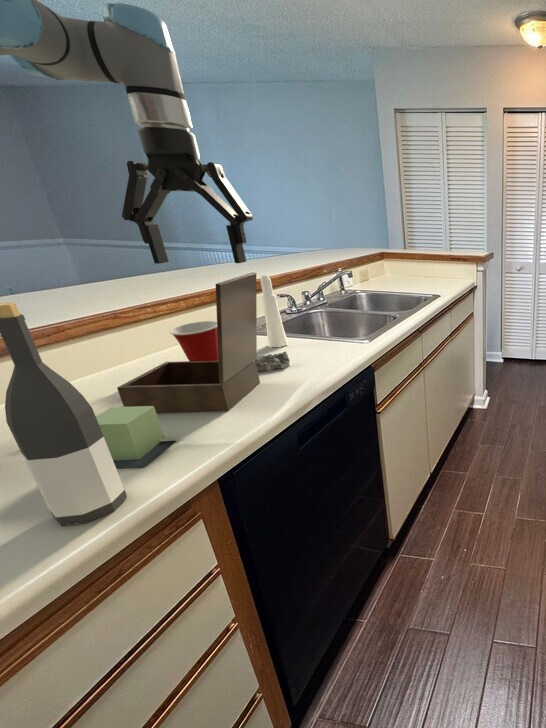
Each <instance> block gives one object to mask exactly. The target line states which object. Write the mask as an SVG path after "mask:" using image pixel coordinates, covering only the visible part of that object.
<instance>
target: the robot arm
mask: <svg viewBox="0 0 546 728" xmlns="http://www.w3.org/2000/svg"><path fill="white" fill-rule="evenodd" d="M102 12H103V21H101V20H86V19H79V18H72V17H66V16H62V15H60V14H59V13H58V12H55V10H53V9H51V8H50V7H48V6H47V5H45V4H43V3H42V2H41V1H39V0H0V56H9V57H10V58H11V59H12V60H13V62H15V63H16V64H17V65H18V66H19V67H20V69H22V70H23V71H24V72H26V74H30V75H31V76H35V77H42V78H49V79H54V80H56V81H64V80H67V81H69V80H70V81H83V82H96V83H111V84H119V85H120V84H122V85H124V87H125V93H126V95H127V99H128V102H129V105H130V110H131V113H132V116H133V120H134V123H135V124H137V125H138V126H141V127H139V128H138V129H137V133H138V137H139V140H140V143H141V147H142V150H143V152H144V154H145V156H146V158H147V162H146V163H144V162H141V161H135V160H127V162H126V167H127V171H128V180H127V185H126V189H125V196H124V201H123V207H122V211H121V212H122V213H121V217H122V219H123V220H124V221H130V222H133V223H135V224H136V225H137V227H138V229H139V232H140V235H141V239H142V242H143V243H144V244H147V245H148V246H149V249H150V253H151V257H152V259H153V263H154V264H157V265H159V264H165V263H169V262H170V261H169V258H168V254H167V251H166V247H165V243H164V241H163V238H162V233H161V231H160V227H159V224H157V223H155V222H154V219H155V217H156V216H157V214H158V212H159V210H160V209H161V207H162V205H163V203H164V202H165V200H166V198H167V196H168V195H169V194H170V193H171V192H194V193H196V194H199V195H200V196H201V197H202V198H203V199H205V201H206V202H207V203H208V204H209V205H210V206H211V207H213V208H214V209H215V210H216V212H218V213H219V214H220V215H222V217H224V219H225V220H227V221H228V222H229V223H228V224H226V225H225V227H226V231H227V236H228V240H229V244H230V248H231V252H232V256H233V260H234V264H242V263H246V262H247V257H246V254H245V249H244V244H247V236H246V232H245V228H244V227H245V226H244V225H245V224H246V223H248V222H251V221H253V220H254V216H253V214H252V212H251V211H250V209H248V207H247V206H246V204H245V203H244V201H243V200H242V199H241V197H240V195H238V192H237V191H236V190H235V189H234V187H233V186H232V184H231V183H230V181H229V180H228V179H227V177H226V174H225V170H224V168H223V166H222V164H220V163H217V162H211V161H209V162H207V163H206V164H203V163H202V161H201V159H200V150H199V147H198V142H197V139H196V135H195V134H194V133H193V132H191V131H190V130H192V129H193V123H192V119H191V115H190V111H189V106H188V104H187V100H186V95H185V92H184V87H183V83H182V78H181V74H180V70H179V66H178V65H179V64H178V61H177V54H176V53H177V52H176V51H175V50H174V46H173V43H172V40H171V37H170V33H169V30H168V26H167V24H166V22H165V21H164V20H163V19H162V18H161V17H160V16H159V15H158V14H156V13H155V12H153V11H151V10H149V9H147V8H144V7H140V6H137V5H133V4H128V3H123V2H116V3H112V2H108V3H106V4H104V6H103V7H102ZM150 174H151V176H152V177H154V178H153V180H152V182H151V184H150V186H149V188H150V189H149V192H148V193H147V195H146V197H145V192H146V188H147V181H148V177H149V175H150ZM206 174H207V176H208V178H211V179H212V182H214V184H215V186H216V187H217V188H218V190H219V191H220V193H221V194H222V196H223V197H224V198H225V200H226V201H227V202H228V203H226V201H224V200H223V199H222V198H221V197H220V196H219V195H218V194H217V193H216V192H215V191H214V190H213V189H212V187H211V186H210V185H209V184H208V183H206V181H205V180H204V177H205V175H206Z"/></svg>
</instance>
